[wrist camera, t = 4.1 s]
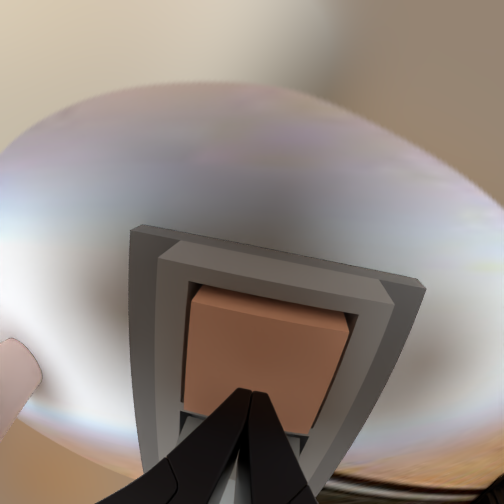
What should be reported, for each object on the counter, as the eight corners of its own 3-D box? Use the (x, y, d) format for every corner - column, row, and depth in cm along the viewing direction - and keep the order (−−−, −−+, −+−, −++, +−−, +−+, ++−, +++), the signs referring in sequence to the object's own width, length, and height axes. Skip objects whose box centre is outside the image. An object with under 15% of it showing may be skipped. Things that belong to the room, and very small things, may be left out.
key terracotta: (338, 295, 11) (349, 332, 8) (307, 389, 12) (307, 434, 9) (212, 270, 11) (191, 301, 8) (201, 368, 12) (183, 409, 10)
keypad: (417, 279, 11) (448, 313, 8) (305, 499, 16) (303, 533, 13) (142, 224, 12) (101, 244, 9) (149, 467, 17) (134, 498, 14)
